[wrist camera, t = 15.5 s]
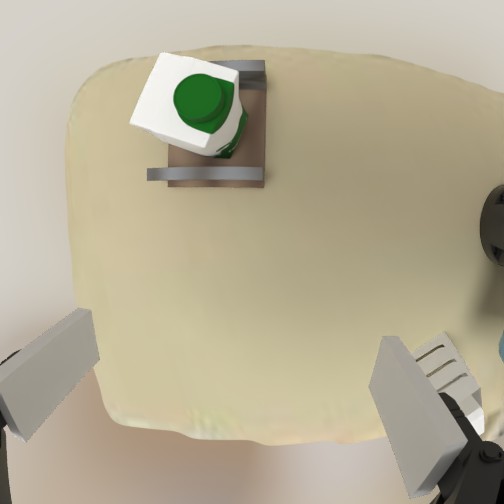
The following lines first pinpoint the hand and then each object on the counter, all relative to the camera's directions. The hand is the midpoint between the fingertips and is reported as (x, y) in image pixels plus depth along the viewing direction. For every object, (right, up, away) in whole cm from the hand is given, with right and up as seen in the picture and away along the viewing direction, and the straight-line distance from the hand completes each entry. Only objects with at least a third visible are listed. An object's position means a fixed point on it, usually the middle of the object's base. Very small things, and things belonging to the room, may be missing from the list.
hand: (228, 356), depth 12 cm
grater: (+35, -17, +36) cm, 53 cm away
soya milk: (-4, +22, +29) cm, 36 cm away
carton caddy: (-4, +22, +29) cm, 37 cm away
